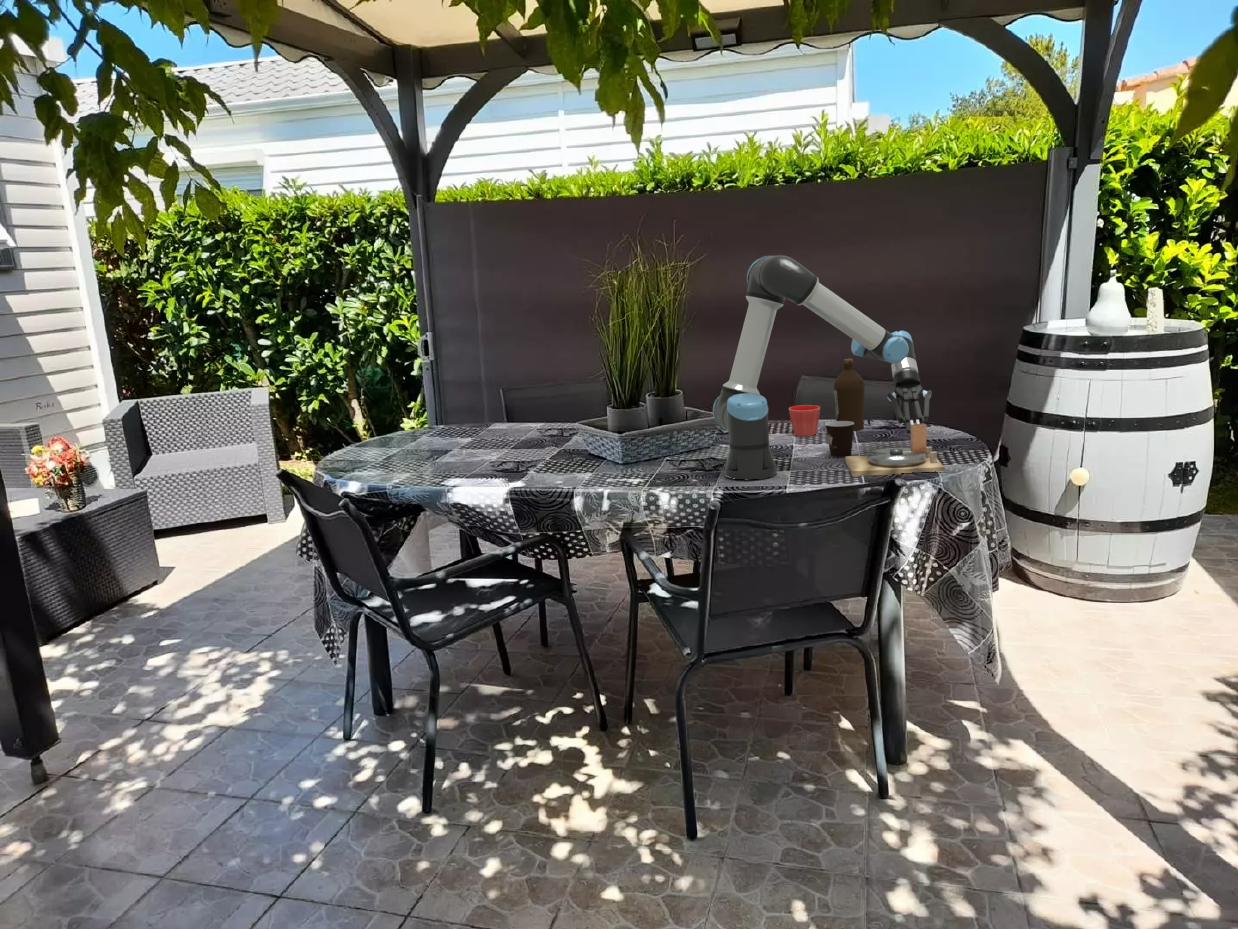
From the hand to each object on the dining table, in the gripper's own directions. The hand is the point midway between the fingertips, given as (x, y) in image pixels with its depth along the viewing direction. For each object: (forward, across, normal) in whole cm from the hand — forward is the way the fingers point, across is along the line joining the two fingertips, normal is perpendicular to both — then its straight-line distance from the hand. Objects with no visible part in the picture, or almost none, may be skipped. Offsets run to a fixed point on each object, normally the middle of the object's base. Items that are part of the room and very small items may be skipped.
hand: (917, 440), depth 255 cm
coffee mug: (-7, +20, -16) cm, 27 cm away
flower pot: (-31, +29, -41) cm, 59 cm away
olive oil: (-35, +13, -45) cm, 59 cm away
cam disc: (+6, +6, -1) cm, 9 cm away
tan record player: (+7, +8, -2) cm, 10 cm away
